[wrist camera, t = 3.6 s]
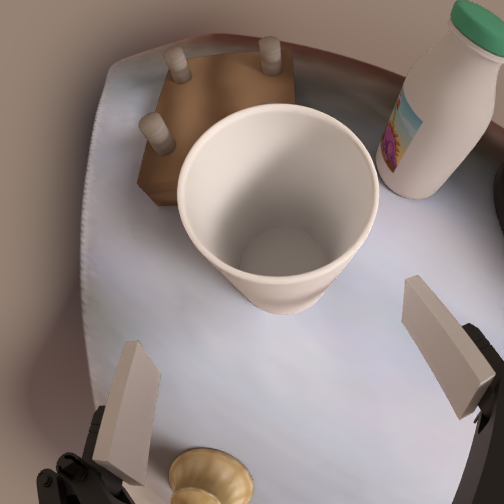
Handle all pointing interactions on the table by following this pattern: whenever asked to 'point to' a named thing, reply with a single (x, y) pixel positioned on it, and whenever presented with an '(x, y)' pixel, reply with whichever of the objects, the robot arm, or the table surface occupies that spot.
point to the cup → (278, 202)
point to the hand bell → (209, 478)
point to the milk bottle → (443, 104)
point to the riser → (206, 106)
